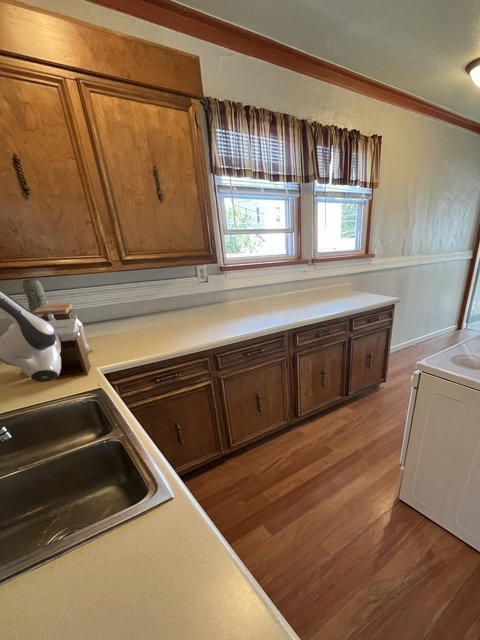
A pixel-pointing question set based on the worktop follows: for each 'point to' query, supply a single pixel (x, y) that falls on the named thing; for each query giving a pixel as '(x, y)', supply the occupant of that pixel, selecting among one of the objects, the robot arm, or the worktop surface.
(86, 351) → the plastic bottle
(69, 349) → the nightstand
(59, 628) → the worktop surface
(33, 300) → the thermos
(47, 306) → the shelf
